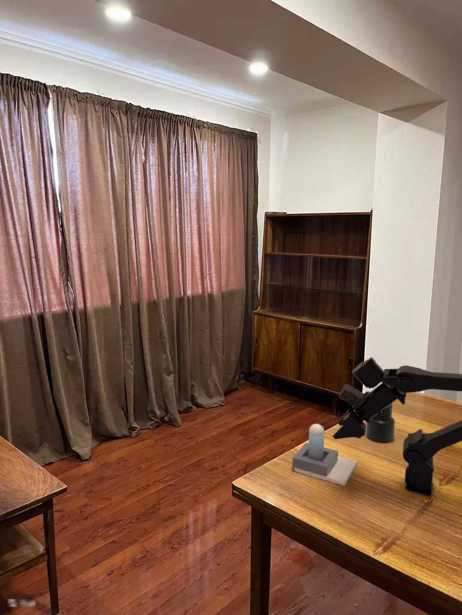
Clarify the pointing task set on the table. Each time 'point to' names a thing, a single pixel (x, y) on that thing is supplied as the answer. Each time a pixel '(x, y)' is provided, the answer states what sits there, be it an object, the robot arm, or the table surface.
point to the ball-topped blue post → (316, 442)
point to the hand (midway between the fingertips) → (336, 430)
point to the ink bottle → (382, 426)
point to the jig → (324, 465)
